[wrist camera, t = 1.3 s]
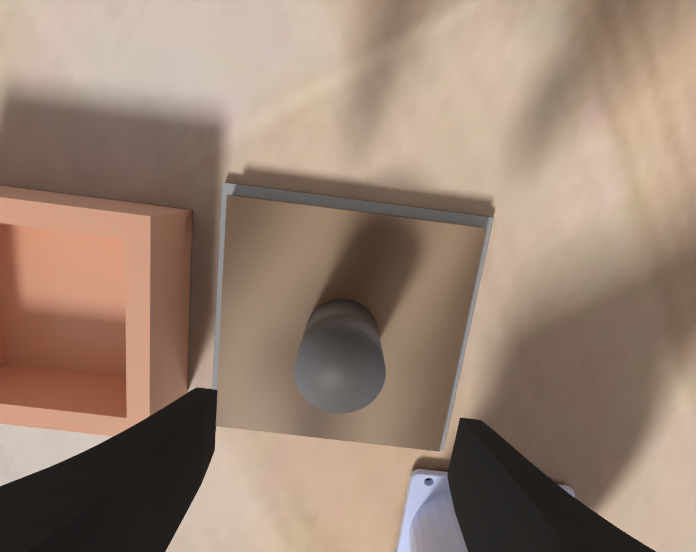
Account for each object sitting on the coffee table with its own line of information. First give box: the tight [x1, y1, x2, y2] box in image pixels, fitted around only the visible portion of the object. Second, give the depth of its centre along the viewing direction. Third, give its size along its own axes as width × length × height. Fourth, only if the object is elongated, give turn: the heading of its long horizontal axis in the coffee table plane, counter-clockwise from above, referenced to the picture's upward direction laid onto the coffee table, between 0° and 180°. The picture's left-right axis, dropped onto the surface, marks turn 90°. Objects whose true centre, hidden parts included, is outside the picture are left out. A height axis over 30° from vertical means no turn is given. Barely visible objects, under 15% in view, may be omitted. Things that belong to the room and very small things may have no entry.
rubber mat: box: [212, 183, 493, 450], centre depth 20 cm, size 13×13×1 cm
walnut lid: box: [216, 195, 487, 451], centre depth 17 cm, size 12×12×5 cm
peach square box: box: [0, 185, 193, 436], centre depth 17 cm, size 10×10×4 cm
